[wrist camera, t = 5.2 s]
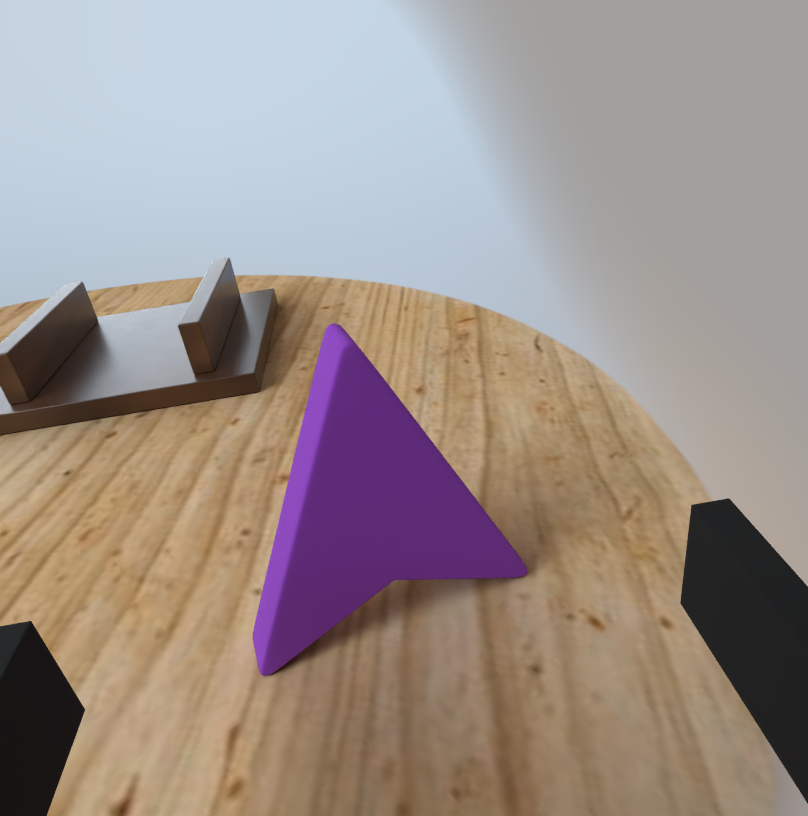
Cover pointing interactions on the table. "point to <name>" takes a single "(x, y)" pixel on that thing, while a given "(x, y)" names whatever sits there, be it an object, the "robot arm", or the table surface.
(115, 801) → the table surface
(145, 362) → the rack
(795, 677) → the robot arm
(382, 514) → the arrowhead
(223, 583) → the table surface
